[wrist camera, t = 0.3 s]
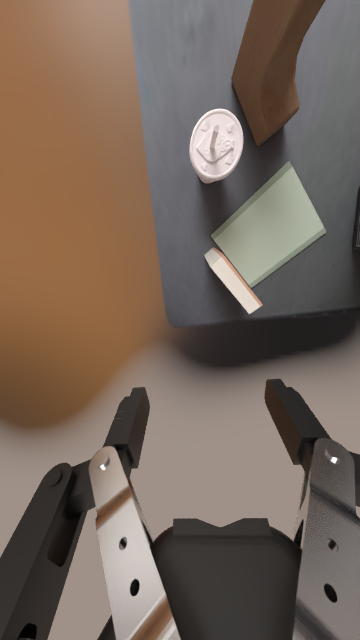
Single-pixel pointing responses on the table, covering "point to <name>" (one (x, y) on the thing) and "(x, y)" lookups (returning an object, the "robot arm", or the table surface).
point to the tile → (232, 280)
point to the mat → (269, 227)
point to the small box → (357, 226)
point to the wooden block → (271, 63)
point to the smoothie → (216, 145)
